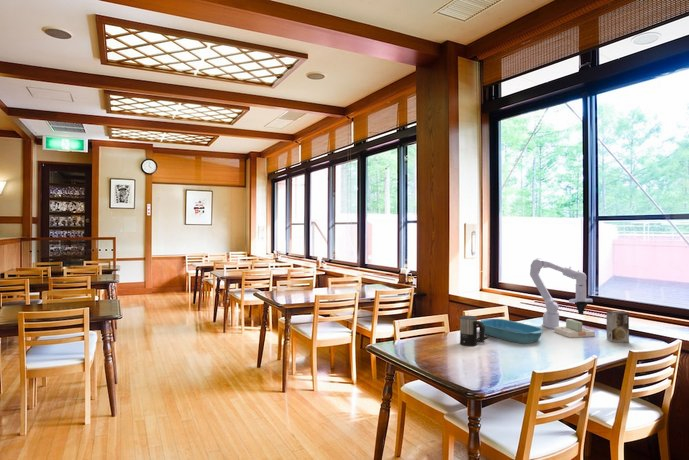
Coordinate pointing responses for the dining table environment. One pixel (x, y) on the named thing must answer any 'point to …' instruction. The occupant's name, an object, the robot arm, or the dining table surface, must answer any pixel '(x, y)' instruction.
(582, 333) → the slot rack
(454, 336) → the dining table surface
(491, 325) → the casserole dish
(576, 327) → the blanking panel
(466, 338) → the milk frother
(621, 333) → the coffee box
